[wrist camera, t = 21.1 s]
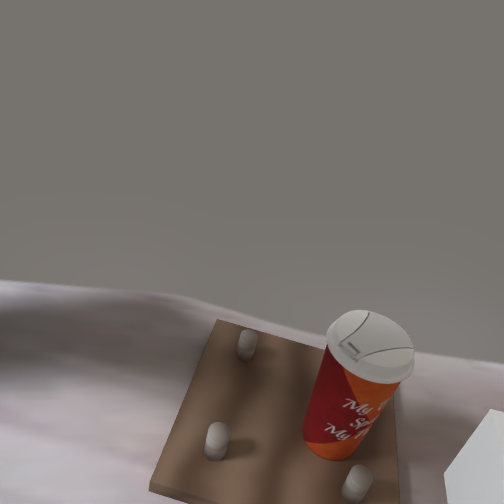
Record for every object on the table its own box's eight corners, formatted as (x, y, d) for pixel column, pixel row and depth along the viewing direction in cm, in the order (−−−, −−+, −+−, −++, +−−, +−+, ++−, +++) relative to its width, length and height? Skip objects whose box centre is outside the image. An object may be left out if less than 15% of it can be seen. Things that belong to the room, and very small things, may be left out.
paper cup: (328, 486, 44) (380, 386, 36) (276, 422, 48) (312, 321, 40) (382, 447, 48) (439, 351, 40) (329, 392, 53) (371, 296, 45)
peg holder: (148, 490, 42) (152, 461, 39) (215, 327, 60) (221, 300, 58) (396, 569, 40) (417, 543, 38) (387, 377, 59) (400, 352, 56)
